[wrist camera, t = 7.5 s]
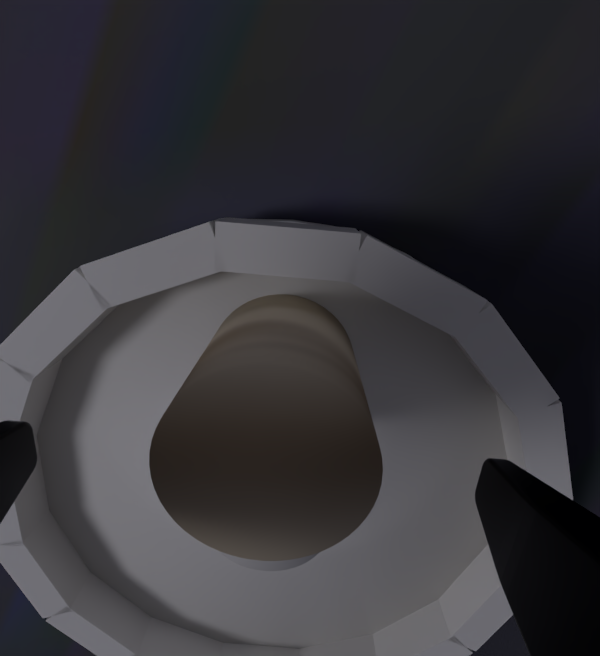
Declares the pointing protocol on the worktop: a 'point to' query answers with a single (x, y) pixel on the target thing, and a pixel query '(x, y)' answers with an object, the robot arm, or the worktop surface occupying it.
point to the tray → (164, 383)
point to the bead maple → (270, 436)
